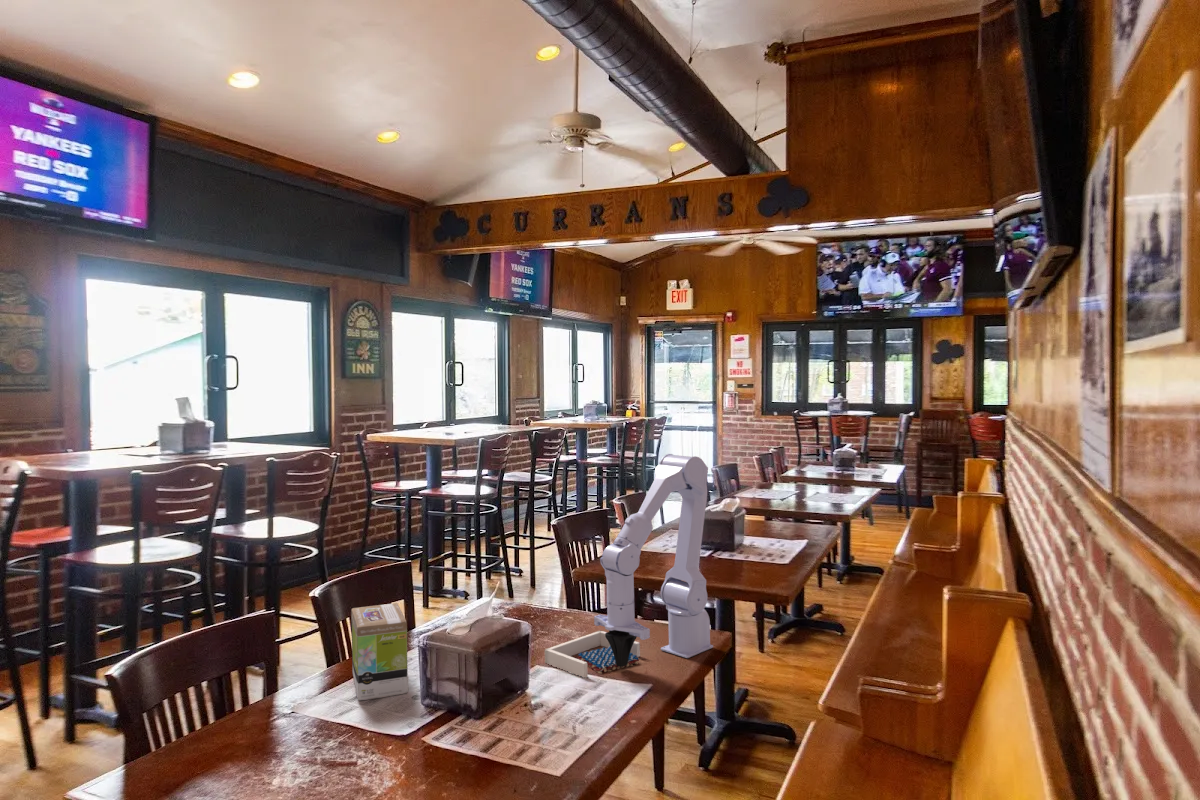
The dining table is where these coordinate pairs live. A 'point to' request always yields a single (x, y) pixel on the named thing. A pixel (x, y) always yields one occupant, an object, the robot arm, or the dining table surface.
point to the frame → (563, 652)
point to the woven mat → (604, 659)
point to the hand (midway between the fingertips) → (622, 665)
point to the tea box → (379, 651)
